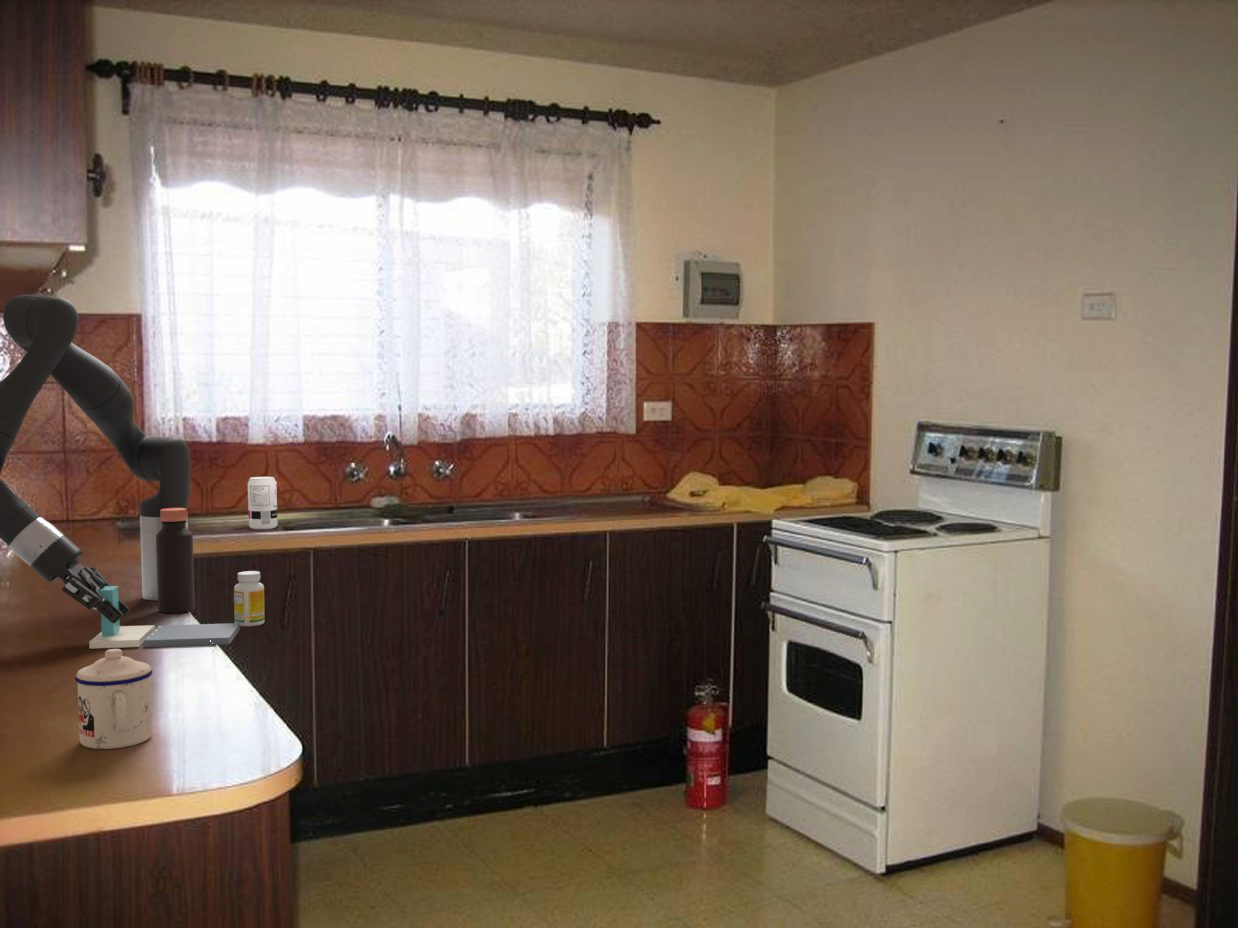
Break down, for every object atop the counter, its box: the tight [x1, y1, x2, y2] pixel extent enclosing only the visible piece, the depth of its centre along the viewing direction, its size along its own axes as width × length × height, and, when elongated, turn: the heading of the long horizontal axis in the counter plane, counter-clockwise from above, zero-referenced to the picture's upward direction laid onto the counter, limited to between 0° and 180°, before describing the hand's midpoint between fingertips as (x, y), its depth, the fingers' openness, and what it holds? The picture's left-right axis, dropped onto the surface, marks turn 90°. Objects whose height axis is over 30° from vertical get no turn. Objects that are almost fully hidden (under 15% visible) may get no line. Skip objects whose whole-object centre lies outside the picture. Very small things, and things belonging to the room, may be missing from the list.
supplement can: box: [247, 476, 279, 531], centre depth 362 cm, size 8×8×15 cm
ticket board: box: [143, 622, 241, 648], centre depth 215 cm, size 12×14×1 cm
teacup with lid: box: [74, 648, 153, 750], centre depth 155 cm, size 12×9×12 cm
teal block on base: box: [88, 585, 156, 649], centre depth 213 cm, size 12×8×9 cm, turn 9°
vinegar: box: [156, 508, 196, 615], centre depth 238 cm, size 7×7×20 cm
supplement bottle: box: [233, 570, 265, 627], centre depth 226 cm, size 5×5×10 cm
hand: (122, 616), depth 213 cm, fingers closed on teal block on base, 4 cm apart
